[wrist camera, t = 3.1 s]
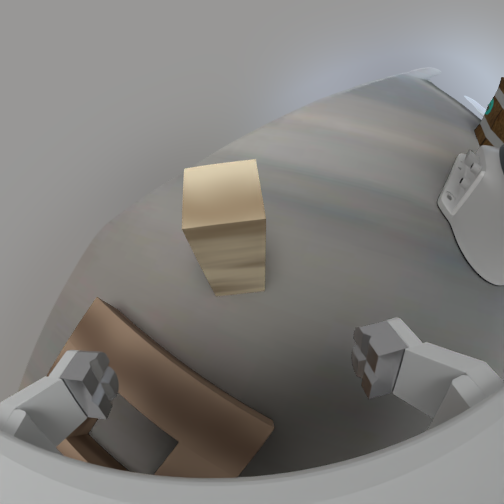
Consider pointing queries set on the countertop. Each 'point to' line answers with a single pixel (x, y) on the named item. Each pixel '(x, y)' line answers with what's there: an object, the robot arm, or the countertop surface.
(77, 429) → the socket block
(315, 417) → the countertop surface
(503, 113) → the mug
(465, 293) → the countertop surface
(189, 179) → the maple peg
